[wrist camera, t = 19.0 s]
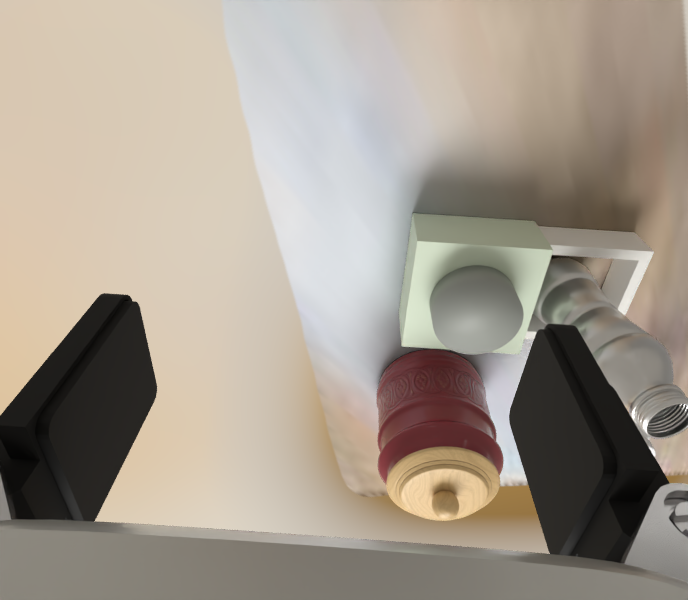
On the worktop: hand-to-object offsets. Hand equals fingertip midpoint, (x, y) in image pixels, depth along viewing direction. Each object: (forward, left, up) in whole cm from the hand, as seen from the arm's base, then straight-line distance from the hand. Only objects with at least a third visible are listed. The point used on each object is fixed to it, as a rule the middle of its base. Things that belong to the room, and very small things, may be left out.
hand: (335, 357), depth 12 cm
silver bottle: (+18, +21, -36) cm, 46 cm away
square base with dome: (+18, +17, -36) cm, 44 cm away
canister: (+35, +11, -37) cm, 52 cm away
